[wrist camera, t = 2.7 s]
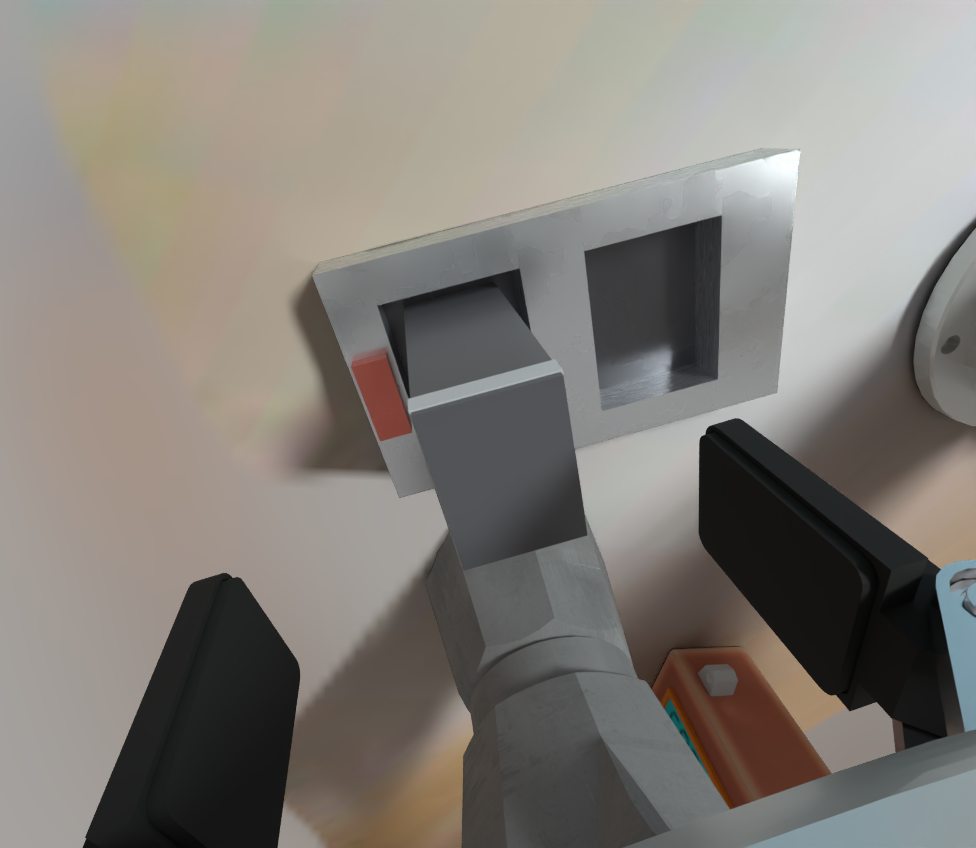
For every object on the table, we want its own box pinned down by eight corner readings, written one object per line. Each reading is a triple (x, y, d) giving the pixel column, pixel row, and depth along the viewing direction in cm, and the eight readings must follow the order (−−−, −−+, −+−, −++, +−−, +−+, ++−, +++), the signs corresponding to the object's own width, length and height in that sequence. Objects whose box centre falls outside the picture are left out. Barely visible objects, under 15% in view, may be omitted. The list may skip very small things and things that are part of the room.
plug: (495, 280, 18) (565, 372, 11) (519, 397, 21) (589, 536, 13) (401, 305, 18) (408, 415, 11) (437, 419, 21) (462, 572, 13)
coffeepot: (414, 470, 22) (473, 1257, 6) (619, 451, 23) (1073, 1061, 8) (432, 688, 29) (478, 1294, 14) (586, 664, 31) (784, 1191, 15)
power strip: (760, 148, 18) (811, 148, 16) (747, 373, 22) (785, 398, 20) (320, 262, 17) (309, 279, 15) (398, 469, 22) (399, 505, 20)
